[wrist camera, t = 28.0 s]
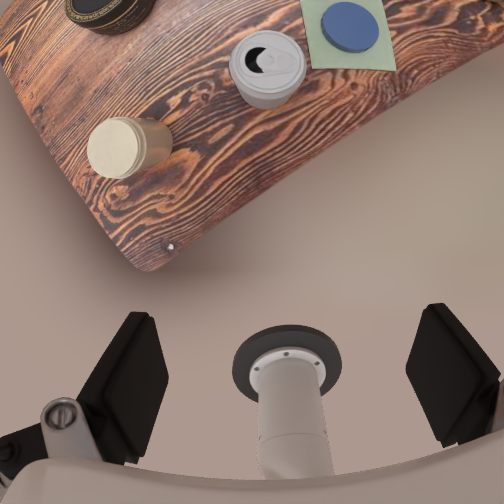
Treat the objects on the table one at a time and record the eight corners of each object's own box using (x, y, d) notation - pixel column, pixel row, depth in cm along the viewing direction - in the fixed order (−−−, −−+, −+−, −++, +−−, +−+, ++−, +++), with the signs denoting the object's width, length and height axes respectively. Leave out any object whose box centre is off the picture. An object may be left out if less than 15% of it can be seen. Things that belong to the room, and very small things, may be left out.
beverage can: (241, 58, 30) (231, 23, 19) (295, 63, 30) (311, 31, 19) (236, 107, 32) (223, 94, 21) (291, 113, 32) (305, 102, 21)
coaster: (395, 71, 29) (396, 70, 29) (311, 69, 30) (312, 68, 30) (380, -1, 25) (381, -2, 25) (298, -6, 26) (298, -7, 26)
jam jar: (176, 163, 35) (145, 174, 25) (131, 171, 35) (90, 186, 26) (169, 114, 33) (135, 108, 23) (124, 125, 33) (80, 126, 23)
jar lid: (320, 1, 26) (322, -4, 24) (374, 12, 26) (378, 8, 24) (319, 48, 29) (322, 44, 27) (375, 58, 28) (379, 55, 27)
